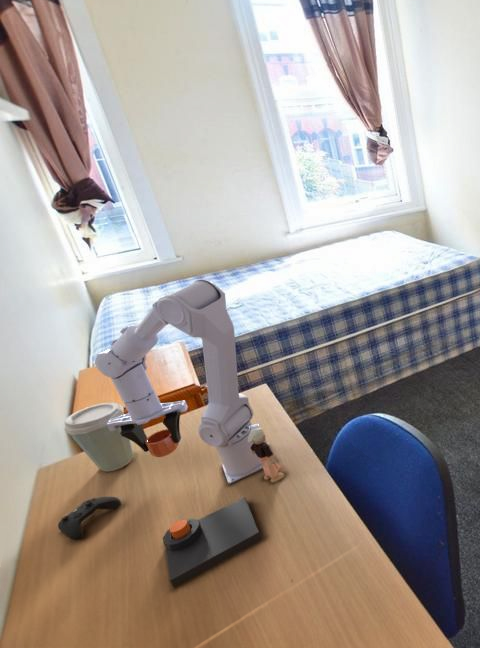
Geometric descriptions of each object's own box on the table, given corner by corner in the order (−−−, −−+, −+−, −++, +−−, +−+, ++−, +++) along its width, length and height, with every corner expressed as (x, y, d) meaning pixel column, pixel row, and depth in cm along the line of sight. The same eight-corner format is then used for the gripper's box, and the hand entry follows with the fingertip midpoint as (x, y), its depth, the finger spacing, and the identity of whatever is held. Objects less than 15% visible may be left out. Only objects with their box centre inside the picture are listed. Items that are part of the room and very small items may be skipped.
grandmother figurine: (292, 472, 103) (275, 426, 98) (279, 485, 100) (261, 437, 95) (265, 466, 106) (248, 421, 101) (252, 479, 103) (233, 432, 97)
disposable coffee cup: (119, 447, 118) (93, 397, 112) (156, 448, 116) (131, 397, 110) (78, 478, 108) (47, 425, 102) (118, 479, 106) (88, 426, 101)
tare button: (189, 523, 88) (186, 516, 87) (191, 532, 86) (188, 525, 85) (172, 532, 87) (168, 525, 86) (173, 541, 85) (170, 534, 84)
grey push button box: (248, 503, 96) (242, 490, 95) (261, 539, 87) (256, 525, 86) (167, 544, 88) (160, 530, 87) (174, 588, 79) (166, 574, 78)
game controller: (78, 539, 90) (50, 521, 89) (72, 551, 92) (45, 533, 91) (125, 500, 99) (100, 483, 98) (118, 512, 101) (94, 496, 100)
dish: (178, 439, 111) (171, 426, 110) (180, 450, 107) (173, 436, 106) (151, 450, 108) (144, 436, 107) (153, 461, 105) (145, 447, 103)
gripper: (91, 415, 96) (119, 466, 102) (172, 394, 101) (195, 444, 106) (104, 397, 102) (130, 447, 108) (180, 379, 107) (201, 427, 112)
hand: (163, 444), depth 107 cm, fingers closed on dish, 5 cm apart
